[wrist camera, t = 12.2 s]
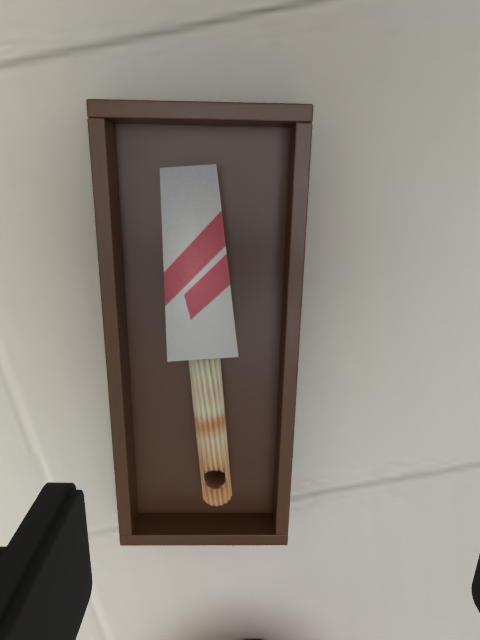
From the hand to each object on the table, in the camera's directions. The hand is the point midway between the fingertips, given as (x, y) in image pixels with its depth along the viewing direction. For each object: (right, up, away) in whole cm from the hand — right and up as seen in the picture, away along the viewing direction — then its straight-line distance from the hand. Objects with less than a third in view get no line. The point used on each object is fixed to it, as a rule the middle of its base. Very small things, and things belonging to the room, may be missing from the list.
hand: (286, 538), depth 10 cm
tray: (-3, +4, +17) cm, 18 cm away
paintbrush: (-3, +4, +16) cm, 17 cm away
